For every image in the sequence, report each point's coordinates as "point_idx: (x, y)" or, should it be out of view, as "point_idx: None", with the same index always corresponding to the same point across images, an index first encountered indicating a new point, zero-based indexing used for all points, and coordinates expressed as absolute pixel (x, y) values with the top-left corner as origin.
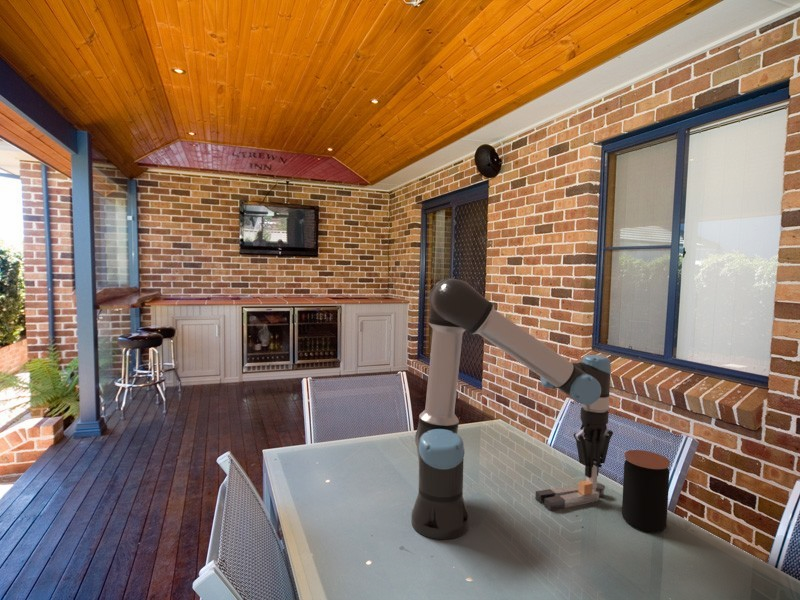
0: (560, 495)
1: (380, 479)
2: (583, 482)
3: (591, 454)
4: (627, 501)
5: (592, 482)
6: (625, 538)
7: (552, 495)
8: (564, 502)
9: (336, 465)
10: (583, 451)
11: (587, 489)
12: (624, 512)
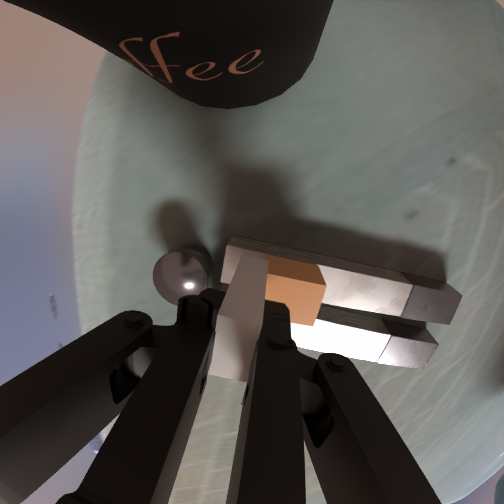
0: (367, 324)
1: (479, 457)
2: (300, 308)
3: (289, 432)
4: (325, 22)
5: (266, 277)
6: (389, 39)
7: (400, 333)
8: (411, 280)
9: (466, 481)
10: (421, 471)
11: (301, 271)
12: (307, 63)
